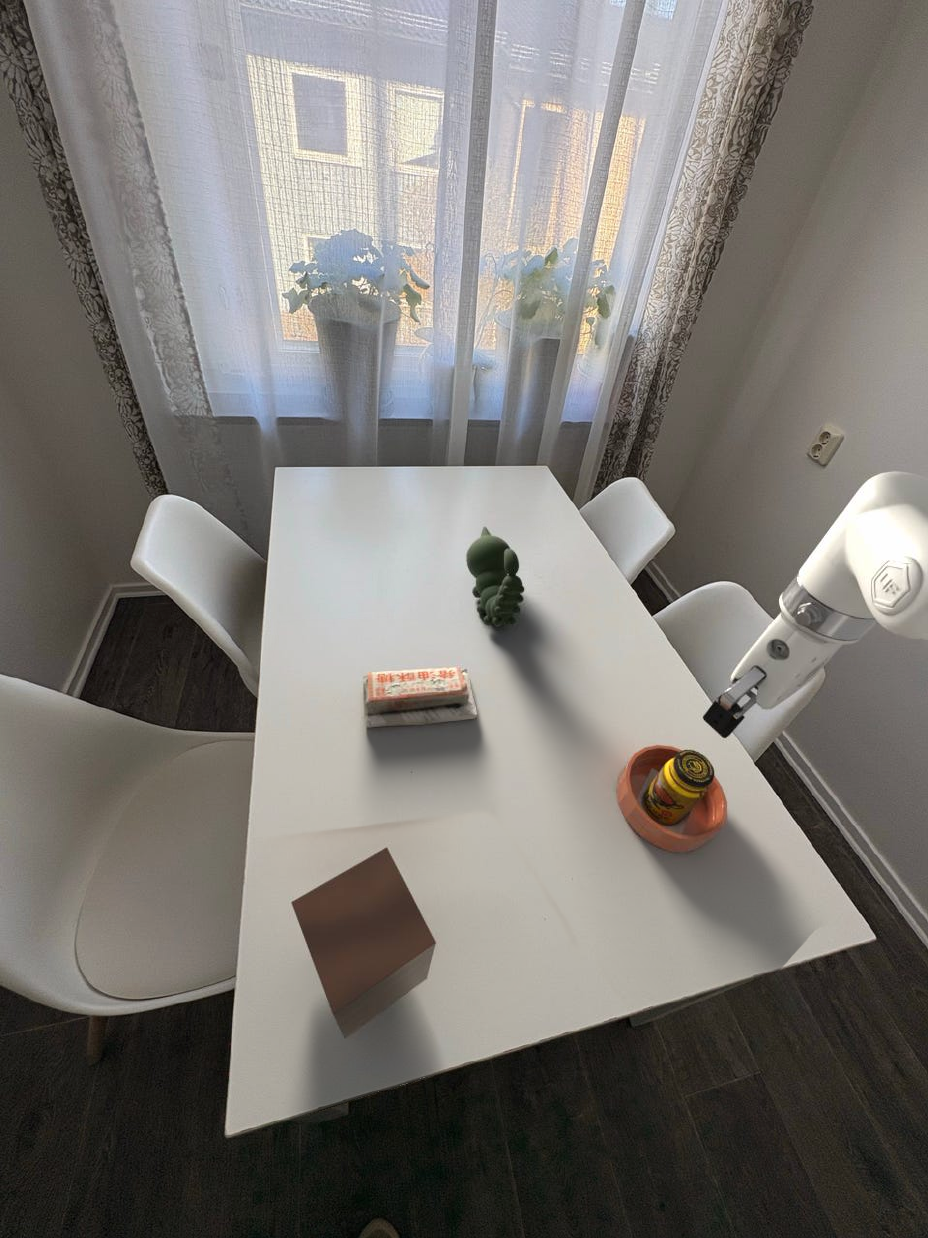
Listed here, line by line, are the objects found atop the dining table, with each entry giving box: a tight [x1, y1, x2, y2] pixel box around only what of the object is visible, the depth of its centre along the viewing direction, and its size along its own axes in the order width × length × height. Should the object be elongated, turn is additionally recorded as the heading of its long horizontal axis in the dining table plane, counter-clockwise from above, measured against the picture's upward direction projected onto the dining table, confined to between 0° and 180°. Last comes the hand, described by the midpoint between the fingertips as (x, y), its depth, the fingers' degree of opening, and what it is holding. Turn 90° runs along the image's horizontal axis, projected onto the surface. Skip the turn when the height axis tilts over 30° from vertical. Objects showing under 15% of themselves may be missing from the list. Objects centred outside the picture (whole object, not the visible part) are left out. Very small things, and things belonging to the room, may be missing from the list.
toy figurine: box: [465, 526, 525, 627], centre depth 99 cm, size 9×19×25 cm
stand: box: [290, 847, 437, 1039], centre depth 53 cm, size 10×10×16 cm
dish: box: [616, 744, 728, 853], centre depth 75 cm, size 14×14×4 cm
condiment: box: [636, 749, 715, 835], centre depth 72 cm, size 7×8×12 cm
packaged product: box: [362, 666, 478, 729], centre depth 84 cm, size 18×5×10 cm
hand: (740, 710), depth 60 cm, fingers open, 9 cm apart
